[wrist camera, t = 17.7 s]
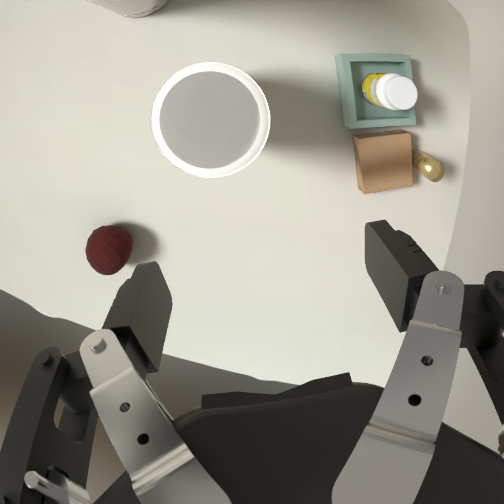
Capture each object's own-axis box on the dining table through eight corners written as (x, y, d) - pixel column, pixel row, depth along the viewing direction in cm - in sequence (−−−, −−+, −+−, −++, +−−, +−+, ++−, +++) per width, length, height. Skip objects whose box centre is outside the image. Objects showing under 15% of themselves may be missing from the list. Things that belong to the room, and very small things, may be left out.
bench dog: (407, 150, 41) (427, 162, 36) (423, 149, 41) (444, 160, 35) (407, 169, 42) (427, 182, 37) (423, 168, 42) (443, 181, 37)
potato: (84, 233, 46) (69, 252, 41) (119, 209, 44) (104, 227, 39) (110, 267, 50) (98, 288, 44) (146, 246, 48) (136, 267, 43)
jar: (275, 120, 39) (292, 142, 26) (208, 158, 41) (192, 198, 28) (233, 54, 34) (229, 38, 21) (165, 95, 36) (127, 105, 23)
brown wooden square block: (351, 135, 40) (359, 139, 38) (400, 129, 39) (410, 133, 37) (357, 187, 44) (364, 194, 42) (403, 179, 44) (412, 185, 41)
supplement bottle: (393, 79, 35) (424, 82, 28) (386, 109, 37) (416, 118, 30) (362, 68, 34) (389, 67, 27) (355, 100, 37) (381, 106, 29)
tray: (334, 55, 34) (341, 54, 32) (400, 55, 33) (410, 55, 31) (343, 125, 39) (350, 129, 37) (406, 121, 38) (415, 125, 36)
